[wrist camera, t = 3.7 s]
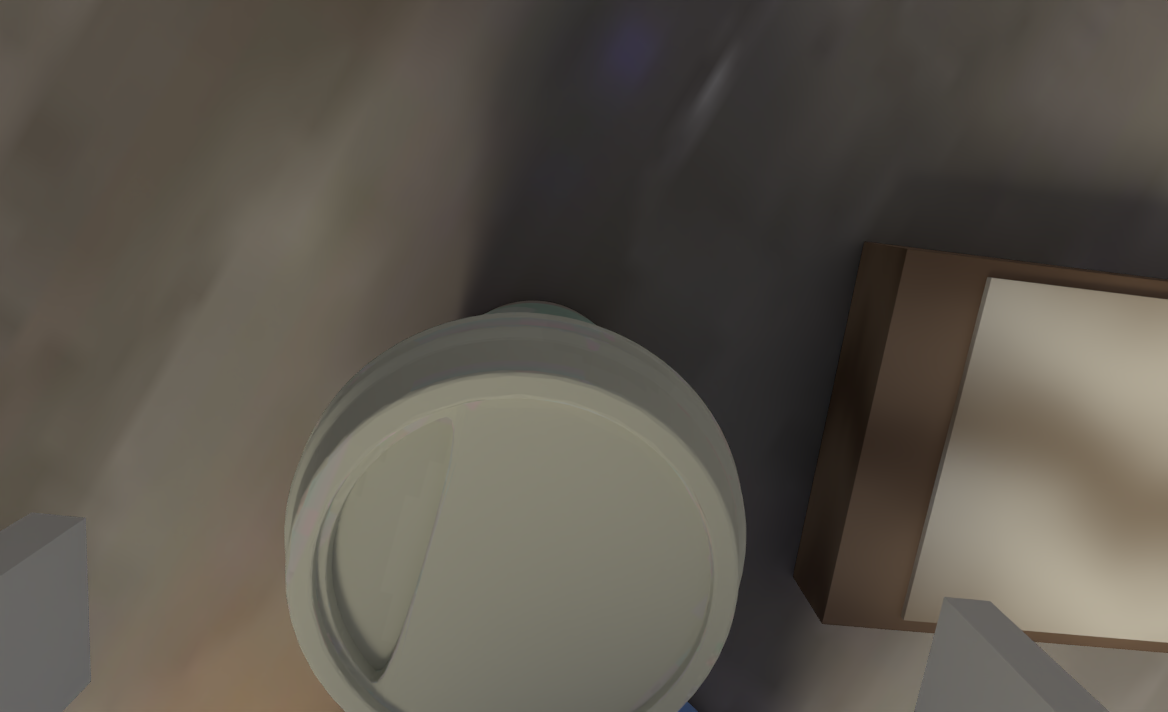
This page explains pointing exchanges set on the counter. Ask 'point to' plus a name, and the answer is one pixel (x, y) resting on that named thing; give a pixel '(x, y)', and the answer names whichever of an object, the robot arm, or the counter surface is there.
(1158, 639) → the walnut plinth
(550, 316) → the coffee cup
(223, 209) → the counter surface
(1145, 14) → the counter surface
